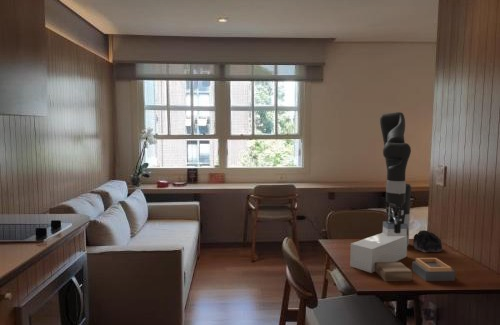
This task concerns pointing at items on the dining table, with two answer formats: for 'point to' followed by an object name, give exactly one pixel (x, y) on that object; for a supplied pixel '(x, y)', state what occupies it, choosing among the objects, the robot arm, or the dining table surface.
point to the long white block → (377, 251)
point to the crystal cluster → (427, 242)
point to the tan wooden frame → (433, 269)
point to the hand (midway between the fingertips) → (394, 231)
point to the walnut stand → (393, 271)
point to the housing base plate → (392, 232)
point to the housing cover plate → (393, 225)
